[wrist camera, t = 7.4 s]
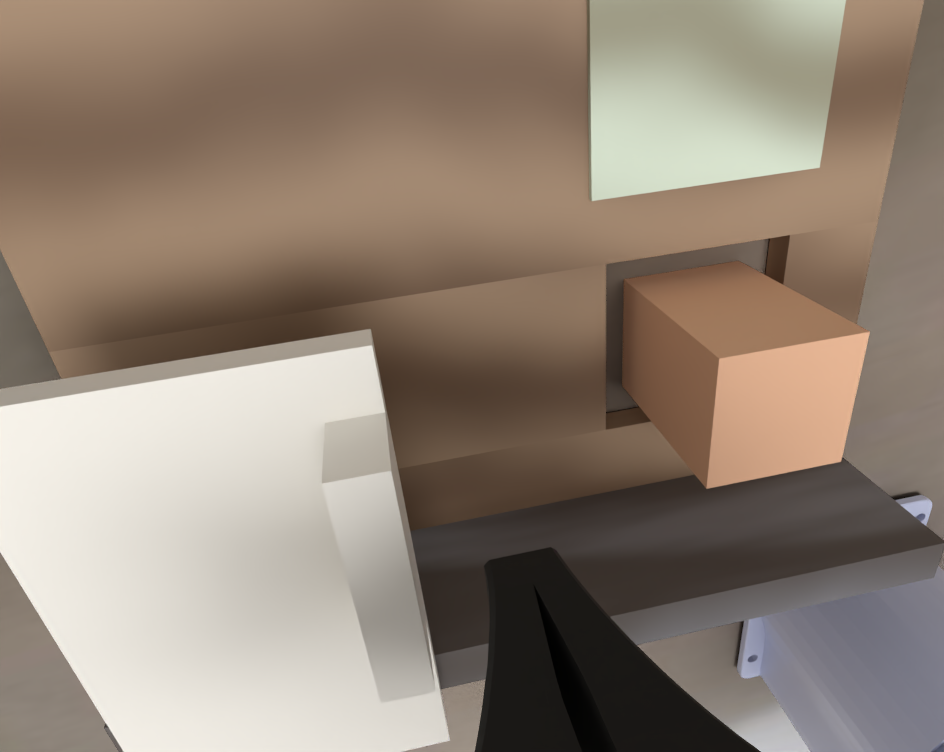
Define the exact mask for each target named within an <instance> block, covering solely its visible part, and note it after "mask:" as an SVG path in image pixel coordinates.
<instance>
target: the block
mask: <svg viewBox="0 0 944 752" xmlns="http://www.w3.org/2000/svg"><path fill="white" fill-rule="evenodd" d="M869 334H870V332H869V331H868V330H866V329H864V328H862V327H860V326H858V325H856V324H855V323H853V322H851V321H849V320H847V319H845V318H844V317H842V316H840V315H838V314H836V313H834V312H832V311H831V310H829V309H827V308H825V307H823V306H821V305H820V304H818V303H816V302H814V301H812V300H810V299H808V298H807V297H805V296H803V295H801V294H799V293H797V292H795V291H794V290H792V289H790V288H788V287H786V286H784V285H783V284H781V283H779V282H777V281H775V280H773V279H771V278H770V277H768V276H766V275H764V274H762V273H760V272H758V271H757V270H755V269H753V268H751V267H749V266H747V265H746V264H744V263H742V262H740V261H734V262H728V263H722V264H716V265H710V266H703V267H697V268H691V269H685V270H679V271H672V272H666V273H660V274H654V275H648V276H641V277H635V278H629V279H624V303H623V370H622V386H623V387H624V389H625V390H626V391H627V392H628V393H629V395H630V396H631V397H632V398H633V400H634V401H635V402H636V403H637V404H638V406H639V407H640V408H641V409H642V411H643V412H644V413H645V414H646V415H647V417H648V418H649V419H650V420H651V422H652V423H653V424H654V425H655V427H656V428H657V429H658V430H659V431H660V433H661V434H662V435H663V436H664V438H665V439H666V440H667V441H668V442H669V444H670V445H671V446H672V447H673V449H674V450H675V451H676V452H677V453H678V455H679V456H680V457H681V458H682V460H683V461H684V462H685V463H686V464H687V466H688V467H689V468H690V469H691V471H692V472H693V473H694V474H695V475H696V477H697V478H698V479H699V480H700V482H701V483H702V484H703V485H704V486H705V488H706V489H708V488H713V487H718V486H723V485H728V484H733V483H738V482H743V481H748V480H753V479H758V478H763V477H768V476H773V475H778V474H783V473H788V472H793V471H798V470H803V469H808V468H812V467H817V466H822V465H827V464H832V463H837V462H841V460H842V455H843V451H844V446H845V442H846V437H847V433H848V428H849V424H850V419H851V415H852V410H853V406H854V401H855V397H856V392H857V388H858V383H859V379H860V374H861V370H862V365H863V361H864V356H865V352H866V347H867V343H868V338H869Z"/></svg>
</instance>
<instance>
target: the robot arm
mask: <svg viewBox="0 0 944 752" xmlns="http://www.w3.org/2000/svg"><path fill="white" fill-rule="evenodd" d="M895 501H896V502H897V503H899V504H900V505H901V506H902V507H903V508H905V509H906V510H907V511H908V512H910V513H911V514H912V515H913V516H914V517H916V518H917V519H918V520H919V521H920V522H922V523H923V524H924V525H925V526H926V524H927V521H928V518H929V515H930V512H931V509H932V502H931V500H929V499H928V498H927V497H926V496H923V495H917V496H913V497H908V498H903V499H898V500H895ZM484 570H485V578H486V585H487V593H488V600H489V614H490V625H489V645H488V662H487V672H486V680H485V689H484V698H483V706H482V713H481V719H480V726H479V732H478V737H477V743H476V748H475V752H761V751H759V750H758V749H757V748H755V747H754V746H752V745H751V744H750V743H748V742H747V741H746V740H744V739H743V738H741V737H740V736H739V735H737V734H736V733H735V732H734V731H732V730H731V729H730V728H729V727H727V726H726V725H725V724H724V723H722V722H721V721H720V720H719V719H717V718H716V717H715V716H714V715H713V714H711V713H710V712H709V711H708V710H706V709H705V708H704V707H703V706H702V705H701V704H699V703H698V702H697V701H696V700H695V699H694V698H692V697H691V696H690V695H689V694H688V693H687V692H685V691H684V690H683V689H682V688H681V687H680V686H679V685H678V684H676V683H675V682H674V681H673V680H672V679H671V678H670V677H669V676H668V675H667V674H666V673H664V672H663V671H662V670H661V669H660V668H659V667H658V666H657V665H656V664H655V663H654V662H653V661H652V660H651V659H650V658H649V657H648V656H647V655H646V654H645V653H644V652H643V651H642V650H641V649H640V648H639V647H638V646H637V645H636V644H635V643H634V642H633V641H632V640H631V639H630V638H629V637H628V636H627V635H626V634H625V633H624V632H623V631H622V629H621V628H620V627H619V626H618V625H617V624H616V623H615V622H614V621H613V620H612V619H611V618H610V616H609V615H608V614H607V613H606V612H605V611H604V610H603V609H602V608H601V606H600V605H599V604H598V603H597V602H596V601H595V600H594V598H593V597H592V596H591V595H590V594H589V592H588V591H587V590H586V589H585V588H584V586H583V585H582V584H581V583H580V581H579V580H578V579H577V578H576V576H575V575H574V574H573V572H572V571H571V570H570V569H569V567H568V566H567V564H566V563H565V562H564V560H563V559H562V558H561V556H560V555H559V553H558V552H557V550H555V549H553V548H552V547H549V548H544V549H539V550H534V551H529V552H525V553H520V554H515V555H510V556H505V557H500V558H496V559H491V560H489V561H488V562H487V563H486V564H485V565H484ZM737 671H738V673H739V674H740V676H741V677H742V678H746V679H747V678H752V677H757V676H761V677H762V679H763V680H764V682H765V683H766V685H767V686H768V688H769V689H770V691H771V692H772V694H773V695H774V697H775V698H776V700H777V701H778V703H779V704H780V706H781V707H782V709H783V710H784V712H785V713H786V715H787V716H788V718H789V720H790V721H791V723H792V724H793V726H794V727H795V729H796V730H797V732H798V733H799V735H800V736H801V738H802V739H803V741H804V742H805V744H806V745H807V747H808V748H809V750H810V751H811V752H944V570H943V569H941V568H940V567H939V566H938V568H937V571H936V574H935V577H934V578H931V579H926V580H922V581H917V582H913V583H908V584H904V585H900V586H895V587H891V588H886V589H882V590H878V591H873V592H869V593H864V594H860V595H855V596H851V597H847V598H842V599H838V600H833V601H829V602H824V603H820V604H816V605H811V606H807V607H802V608H798V609H793V610H789V611H785V612H780V613H776V614H771V615H767V616H763V617H758V618H754V619H749V620H745V621H744V625H743V632H742V638H741V645H740V652H739V658H738V665H737Z"/></svg>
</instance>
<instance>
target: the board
mask: <svg viewBox="0 0 944 752" xmlns="http://www.w3.org/2000/svg"><path fill="white" fill-rule="evenodd" d="M923 2H924V0H0V250H1V252H2V254H3V256H4V258H5V260H6V262H7V265H8V267H9V269H10V271H11V273H12V275H13V277H14V279H15V282H16V284H17V286H18V288H19V290H20V292H21V294H22V296H23V299H24V301H25V303H26V305H27V307H28V309H29V311H30V313H31V315H32V318H33V320H34V322H35V324H36V326H37V328H38V330H39V332H40V335H41V337H42V339H43V341H44V343H45V345H46V347H47V349H48V352H49V354H50V356H51V358H52V360H53V362H54V364H55V366H56V368H57V371H58V373H59V375H60V377H61V379H65V378H71V377H77V376H84V375H90V374H96V373H102V372H108V371H114V370H121V369H127V368H133V367H139V366H145V365H151V364H157V363H164V362H170V361H176V360H182V359H188V358H194V357H200V356H207V355H213V354H219V353H225V352H231V351H237V350H243V349H250V348H256V347H262V346H268V345H274V344H280V343H286V342H293V341H299V340H305V339H311V338H317V337H323V336H330V335H336V334H342V333H348V332H354V331H360V330H366V329H371V333H372V338H373V343H374V348H375V353H376V358H377V363H378V369H379V374H380V379H381V384H382V389H383V394H384V399H385V405H386V410H387V415H388V420H389V425H390V430H391V435H392V440H393V446H394V451H395V456H396V461H397V466H398V471H399V476H400V482H401V487H402V492H403V497H404V502H405V507H406V512H407V517H408V523H409V528H410V533H411V538H412V543H413V548H414V553H415V558H416V564H417V569H418V574H419V579H420V584H421V589H422V594H423V600H424V605H425V610H426V615H427V620H428V625H429V630H430V635H431V641H432V646H433V651H434V656H435V661H436V666H437V671H438V677H439V682H440V687H441V689H444V688H448V687H453V686H457V685H462V684H466V683H471V682H475V681H479V680H484V679H486V672H487V662H488V645H489V625H490V614H489V600H488V593H487V585H486V578H485V570H484V565H485V564H486V563H487V562H488V561H489V560H491V559H496V558H500V557H505V556H510V555H515V554H520V553H525V552H529V551H534V550H539V549H544V548H549V547H552V548H553V549H555V550H557V552H558V553H559V555H560V556H561V558H562V559H563V560H564V562H565V563H566V564H567V566H568V567H569V569H570V570H571V571H572V572H573V574H574V575H575V576H576V578H577V579H578V580H579V581H580V583H581V584H582V585H583V586H584V588H585V589H586V590H587V591H588V592H589V594H590V595H591V596H592V597H593V598H594V600H595V601H596V602H597V603H598V604H599V605H600V606H601V608H602V609H603V610H604V611H605V612H606V613H607V614H608V615H609V616H610V618H611V619H612V620H613V621H614V622H615V623H616V624H617V625H618V626H619V627H620V628H621V629H622V631H623V632H624V633H625V634H626V635H627V636H628V637H629V638H630V639H631V640H632V641H633V642H634V643H635V644H636V645H639V644H643V643H647V642H652V641H656V640H661V639H665V638H670V637H674V636H678V635H683V634H687V633H692V632H696V631H701V630H705V629H709V628H714V627H718V626H723V625H727V624H732V623H736V622H740V621H745V620H749V619H754V618H758V617H763V616H767V615H771V614H776V613H780V612H785V611H789V610H793V609H798V608H802V607H807V606H811V605H816V604H820V603H824V602H829V601H833V600H838V599H842V598H847V597H851V596H855V595H860V594H864V593H869V592H873V591H878V590H882V589H886V588H891V587H895V586H900V585H904V584H908V583H913V582H917V581H922V580H926V579H931V578H934V577H935V574H936V571H937V568H938V565H939V562H940V559H941V556H942V553H943V550H944V540H942V539H941V538H940V537H939V536H937V535H936V534H935V533H934V532H933V531H931V530H930V529H929V528H928V527H927V526H925V525H924V524H923V523H922V522H920V521H919V520H918V519H917V518H916V517H914V516H913V515H912V514H911V513H910V512H908V511H907V510H906V509H905V508H903V507H902V506H901V505H900V504H899V503H897V502H896V501H895V500H894V499H893V498H891V497H890V496H889V495H888V494H886V493H885V492H884V491H883V490H882V489H880V488H879V487H878V486H877V485H876V484H874V483H873V482H872V481H871V480H869V479H868V478H867V477H866V476H865V475H863V474H862V473H861V472H860V471H859V470H857V469H856V468H855V467H854V466H852V465H851V464H850V463H849V462H848V461H846V460H845V459H844V458H843V457H842V460H841V462H837V463H832V464H827V465H822V466H817V467H812V468H808V469H803V470H798V471H793V472H788V473H783V474H778V475H773V476H768V477H763V478H758V479H753V480H748V481H743V482H738V483H733V484H728V485H723V486H718V487H713V488H708V489H706V488H705V486H704V485H703V484H702V483H701V482H700V480H699V479H698V478H697V477H696V475H695V474H694V473H693V472H692V471H691V469H690V468H689V467H688V466H687V464H686V463H685V462H684V461H683V460H682V458H681V457H680V456H679V455H678V453H677V452H676V451H675V450H674V449H673V447H672V446H671V445H670V444H669V442H668V441H667V440H666V439H665V438H664V436H663V435H662V434H661V433H660V431H659V430H658V429H657V428H656V427H655V425H654V424H653V423H652V422H651V420H650V419H649V418H648V417H647V415H646V414H645V413H644V412H643V411H642V409H641V408H640V407H638V408H633V409H627V410H622V411H616V412H611V413H606V264H610V263H616V262H623V261H629V260H635V259H642V258H648V257H654V256H661V255H667V254H673V253H680V252H686V251H692V250H699V249H705V248H711V247H718V246H724V245H730V244H737V243H743V242H749V241H756V240H762V239H768V238H770V242H769V250H768V257H767V265H766V273H765V275H766V276H768V277H770V278H771V279H773V280H775V281H777V282H779V283H781V284H783V285H784V286H786V287H788V288H790V289H792V290H794V291H795V292H797V293H799V294H801V295H803V296H805V297H807V298H808V299H810V300H812V301H814V302H816V303H818V304H820V305H821V306H823V307H825V308H827V309H829V310H831V311H832V312H834V313H836V314H838V315H840V316H842V317H844V318H845V319H847V320H849V321H851V322H853V323H855V324H857V320H858V315H859V310H860V305H861V300H862V296H863V291H864V286H865V281H866V276H867V272H868V267H869V262H870V257H871V252H872V248H873V243H874V238H875V233H876V228H877V223H878V219H879V214H880V209H881V204H882V199H883V195H884V190H885V185H886V180H887V175H888V171H889V166H890V161H891V156H892V151H893V147H894V142H895V137H896V132H897V127H898V123H899V118H900V113H901V108H902V103H903V99H904V94H905V89H906V84H907V79H908V75H909V70H910V65H911V60H912V55H913V50H914V46H915V41H916V36H917V31H918V26H919V22H920V17H921V12H922V7H923ZM104 729H105V730H106V732H107V734H108V735H109V737H110V738H111V740H112V742H113V743H114V745H115V746H116V748H117V750H118V751H119V752H123V750H122V748H121V747H120V745H119V743H118V742H117V740H116V739H115V737H114V735H113V734H112V732H111V730H110V729H109V727H108V726H107V724H105V727H104Z"/></svg>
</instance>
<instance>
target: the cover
mask: <svg viewBox="0 0 944 752" xmlns="http://www.w3.org/2000/svg"><path fill="white" fill-rule="evenodd" d="M0 552H1V554H2V555H3V557H4V559H5V560H6V562H7V564H8V565H9V567H10V568H11V570H12V572H13V573H14V575H15V577H16V578H17V580H18V581H19V583H20V585H21V586H22V588H23V589H24V591H25V593H26V594H27V596H28V598H29V599H30V601H31V602H32V604H33V606H34V607H35V609H36V611H37V612H38V614H39V615H40V617H41V619H42V620H43V622H44V624H45V625H46V627H47V628H48V630H49V632H50V633H51V635H52V636H53V638H54V640H55V641H56V643H57V645H58V646H59V648H60V649H61V651H62V653H63V654H64V656H65V658H66V659H67V661H68V662H69V664H70V666H71V667H72V669H73V671H74V672H75V674H76V675H77V677H78V679H79V680H80V682H81V683H82V685H83V687H84V688H85V690H86V692H87V693H88V695H89V696H90V698H91V700H92V701H93V703H94V705H95V706H96V708H97V709H98V711H99V713H100V714H101V716H102V717H103V719H104V721H105V722H106V724H107V726H108V727H109V729H110V730H111V732H112V734H113V735H114V737H115V739H116V740H117V742H118V743H119V745H120V747H121V748H122V750H123V752H403V751H407V750H411V749H415V748H420V747H424V746H428V745H432V744H437V743H441V742H445V741H449V740H450V739H449V732H448V725H447V719H446V712H445V707H444V702H443V697H442V692H441V687H440V682H439V677H438V671H437V666H436V661H435V656H434V651H433V646H432V641H431V635H430V630H429V625H428V620H427V615H426V610H425V605H424V600H423V594H422V589H421V584H420V579H419V574H418V569H417V564H416V558H415V553H414V548H413V543H412V538H411V533H410V528H409V523H408V517H407V512H406V507H405V502H404V497H403V492H402V487H401V482H400V476H399V471H398V466H397V461H396V456H395V451H394V446H393V440H392V435H391V430H390V425H389V420H388V415H387V410H386V405H385V399H384V394H383V389H382V384H381V379H380V374H379V369H378V363H377V358H376V353H375V348H374V343H373V338H372V333H371V329H366V330H360V331H354V332H348V333H342V334H336V335H330V336H323V337H317V338H311V339H305V340H299V341H293V342H286V343H280V344H274V345H268V346H262V347H256V348H250V349H243V350H237V351H231V352H225V353H219V354H213V355H207V356H200V357H194V358H188V359H182V360H176V361H170V362H164V363H157V364H151V365H145V366H139V367H133V368H127V369H121V370H114V371H108V372H102V373H96V374H90V375H84V376H77V377H71V378H65V379H59V380H53V381H47V382H41V383H34V384H28V385H22V386H16V387H10V388H4V389H0Z"/></svg>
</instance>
